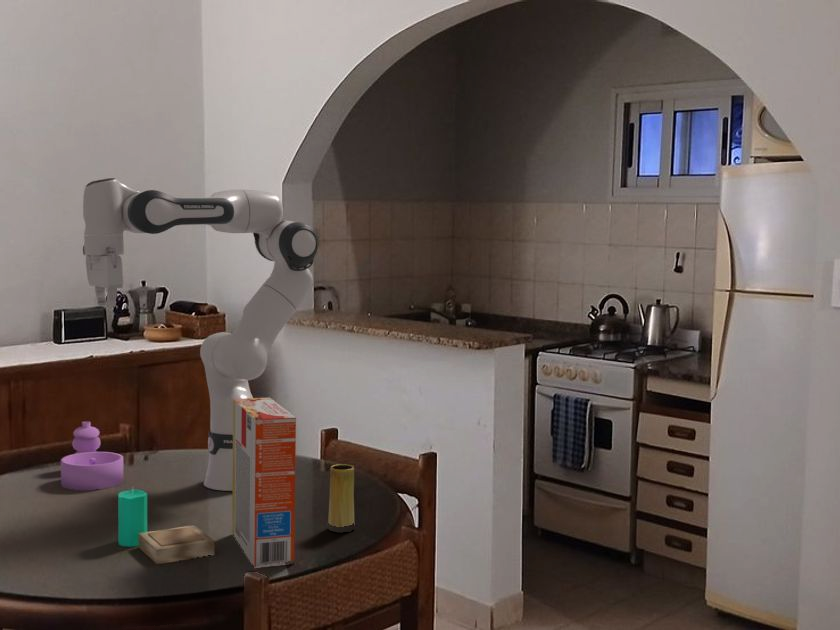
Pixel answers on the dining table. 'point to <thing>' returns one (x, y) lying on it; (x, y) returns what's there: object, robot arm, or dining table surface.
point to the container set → (90, 463)
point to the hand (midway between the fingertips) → (106, 306)
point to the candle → (131, 516)
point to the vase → (341, 495)
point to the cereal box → (264, 480)
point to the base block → (176, 544)
